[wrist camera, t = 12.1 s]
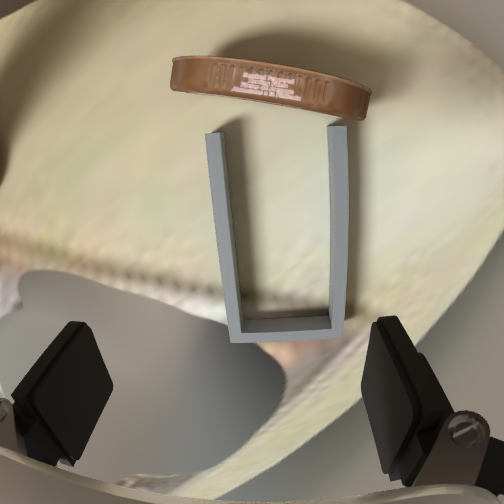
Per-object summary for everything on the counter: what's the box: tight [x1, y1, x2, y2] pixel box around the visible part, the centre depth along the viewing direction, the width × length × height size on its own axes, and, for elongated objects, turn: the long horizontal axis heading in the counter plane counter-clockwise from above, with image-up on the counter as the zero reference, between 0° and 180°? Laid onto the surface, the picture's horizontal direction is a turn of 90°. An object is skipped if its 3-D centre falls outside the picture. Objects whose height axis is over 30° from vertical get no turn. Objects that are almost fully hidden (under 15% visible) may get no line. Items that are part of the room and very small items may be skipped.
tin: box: [170, 56, 372, 121], centre depth 21 cm, size 15×3×8 cm, turn 81°
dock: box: [205, 126, 349, 343], centre depth 29 cm, size 11×20×2 cm, turn 5°
